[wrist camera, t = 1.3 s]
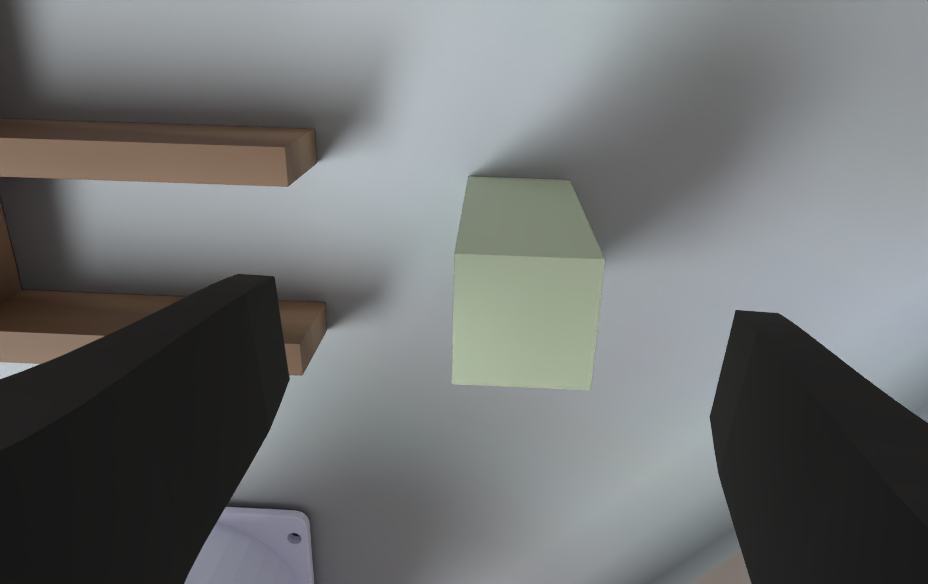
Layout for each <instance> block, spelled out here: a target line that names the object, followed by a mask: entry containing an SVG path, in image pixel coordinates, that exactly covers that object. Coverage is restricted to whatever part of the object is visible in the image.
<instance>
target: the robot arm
mask: <svg viewBox="0 0 928 584" xmlns="http://www.w3.org/2000/svg"><path fill="white" fill-rule="evenodd" d="M289 380H290V378H289V371H288V364H287V358H286V351H285V344H284V338H283V331H282V324H281V318H280V311H279V304H278V298H277V291H276V284H275V278H274V277H273V276H259V275H245V274H237V275H234V276H232V277H229V278H226V279H224V280H221V281H219V282H217V283H214V284H212V285H210V286H208V287H206V288H204V289H201V290H199V291H197V292H195V293H193V294H191V295H189V296H187V297H185V298H183V299H181V300H179V301H177V302H175V303H173V304H171V305H169V306H167V307H165V308H163V309H161V310H159V311H157V312H155V313H153V314H151V315H149V316H146V317H144V318H142V319H140V320H138V321H136V322H134V323H132V324H130V325H128V326H126V327H124V328H122V329H119V330H117V331H115V332H113V333H111V334H108V335H106V336H104V337H102V338H100V339H97V340H95V341H93V342H91V343H88V344H86V345H84V346H82V347H80V348H77V349H75V350H73V351H71V352H69V353H66V354H64V355H62V356H59V357H57V358H55V359H52V360H50V361H47V362H45V363H42V364H40V365H37V366H35V367H32V368H30V369H27V370H25V371H22V372H19V373H16V374H14V375H11V376H8V377H6V378H3V379H0V584H314V573H313V560H312V548H311V535H310V522H309V519H308V517H307V516H306V515H305V514H304V513H302V512H300V511H296V510H278V509H259V508H239V507H226V506H227V504H228V502H229V500H230V499H231V497H232V495H233V494H234V492H235V490H236V488H237V487H238V485H239V483H240V481H241V480H242V478H243V476H244V475H245V473H246V471H247V469H248V468H249V466H250V464H251V462H252V461H253V459H254V457H255V455H256V454H257V452H258V450H259V448H260V447H261V445H262V443H263V441H264V439H265V438H266V436H267V434H268V432H269V430H270V428H271V425H272V423H273V421H274V418H275V416H276V413H277V411H278V409H279V406H280V403H281V401H282V398H283V395H284V393H285V390H286V388H287V385H288V382H289ZM710 422H711V429H712V436H713V443H714V450H715V456H716V462H717V468H718V473H719V477H720V481H721V484H722V488H723V491H724V495H725V498H726V501H727V505H728V508H729V511H730V515H731V518H732V521H733V525H734V528H735V531H736V534H737V538H738V541H739V544H740V547H741V551H742V554H743V557H744V560H745V564H746V567H747V570H748V573H749V577H750V580H751V583H752V584H928V423H927V422H925V421H924V420H923V419H921V418H920V417H918V416H917V415H915V414H914V413H912V412H911V411H909V410H908V409H907V408H905V407H904V406H902V405H901V404H900V403H898V402H897V401H895V400H894V399H893V398H891V397H890V396H888V395H887V394H886V393H884V392H883V391H882V390H880V389H879V388H878V387H876V386H875V385H874V384H872V383H871V382H870V381H868V380H867V379H866V378H864V377H863V376H862V375H860V374H859V373H858V372H856V371H855V370H854V369H853V368H851V367H850V366H849V365H847V364H846V363H845V362H844V361H842V360H841V359H840V358H838V357H837V356H836V355H834V354H833V353H832V352H831V351H829V350H828V349H827V348H825V347H824V346H823V345H822V344H820V343H819V342H818V341H816V340H815V339H814V338H813V337H811V336H810V335H809V334H807V333H806V332H805V331H803V330H802V329H801V328H799V327H798V326H797V325H795V324H794V323H793V322H791V321H790V320H788V319H787V318H785V317H784V316H782V315H781V314H779V313H768V312H755V311H741V310H736V311H735V316H734V320H733V324H732V328H731V332H730V336H729V340H728V344H727V348H726V352H725V357H724V361H723V365H722V369H721V373H720V377H719V381H718V385H717V389H716V394H715V398H714V402H713V406H712V410H711V414H710ZM291 533H296V534H298V535H300V536H299V537H297V536H294V535H293V534H291Z"/></svg>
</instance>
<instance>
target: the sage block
mask: <svg viewBox="0 0 928 584" xmlns="http://www.w3.org/2000/svg"><path fill="white" fill-rule="evenodd" d="M604 264H605V258H604V256H603V254H602V251H601V249H600V247H599V245H598V242H597V240H596V238H595V236H594V233H593V231H592V229H591V227H590V224H589V222H588V220H587V217H586V215H585V213H584V211H583V208H582V206H581V204H580V202H579V199H578V197H577V195H576V193H575V190H574V188H573V186H572V184H571V181H570V180H560V179H530V178H501V177H472V176H468V181H467V186H466V192H465V197H464V203H463V208H462V214H461V220H460V225H459V231H458V236H457V242H456V247H455V253H454V298H453V347H452V384H458V385H480V386H503V387H525V388H548V389H570V390H591V381H592V372H593V363H594V354H595V345H596V336H597V327H598V318H599V309H600V300H601V291H602V282H603V273H604Z"/></svg>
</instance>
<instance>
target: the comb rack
mask: <svg viewBox="0 0 928 584" xmlns="http://www.w3.org/2000/svg"><path fill="white" fill-rule="evenodd" d="M316 163H317V155H316V138H315V129H306V128H275V127H245V126H214V125H183V124H152V123H121V122H90V121H59V120H29V119H0V177H28V178H56V179H84V180H112V181H141V182H169V183H197V184H226V185H254V186H282V187H288V186H289V185H291V184H292V183H293V182H294V181H295V180H297V179H298V178H299V177H300V176H302V175H303V174H304V173H305V172H307V171H308V170H309V169H310V168H312V167H313V166H314V165H315V164H316ZM183 298H185V297H183V296H158V295H134V294H110V293H85V292H61V291H37V290H22V288H21V284H20V279H19V275H18V271H17V267H16V263H15V259H14V255H13V251H12V247H11V242H10V238H9V234H8V230H7V226H6V222H5V218H4V214H3V210H2V205H1V201H0V362H11V363H33V364H42V363H45V362H47V361H50V360H52V359H55V358H57V357H59V356H62V355H64V354H66V353H69V352H71V351H73V350H75V349H77V348H80V347H82V346H84V345H86V344H88V343H91V342H93V341H95V340H97V339H100V338H102V337H104V336H106V335H108V334H111V333H113V332H115V331H117V330H119V329H122V328H124V327H126V326H128V325H130V324H132V323H134V322H136V321H138V320H140V319H142V318H144V317H146V316H149V315H151V314H153V313H155V312H157V311H159V310H161V309H163V308H165V307H167V306H169V305H171V304H173V303H175V302H177V301H179V300H181V299H183ZM278 304H279V311H280V318H281V324H282V331H283V338H284V344H285V351H286V358H287V364H288V371H289V375H301V376H302V375H303V373H304V371H305V370H306V368H307V366H308V364H309V362H310V360H311V359H312V357H313V355H314V353H315V351H316V349H317V348H318V346H319V344H320V342H321V340H322V338H323V336H324V335H325V333H326V331H327V325H326V308H325V302H304V301H280V300H278Z"/></svg>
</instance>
